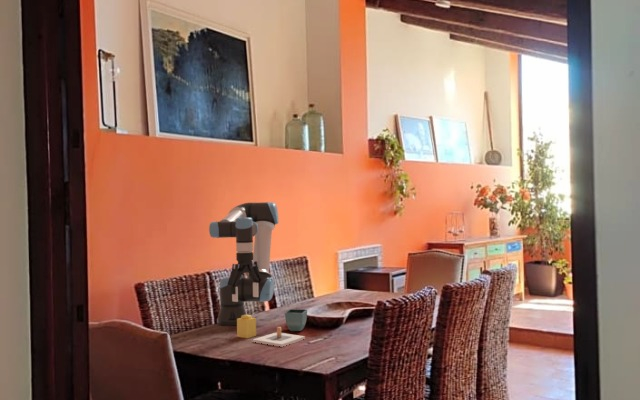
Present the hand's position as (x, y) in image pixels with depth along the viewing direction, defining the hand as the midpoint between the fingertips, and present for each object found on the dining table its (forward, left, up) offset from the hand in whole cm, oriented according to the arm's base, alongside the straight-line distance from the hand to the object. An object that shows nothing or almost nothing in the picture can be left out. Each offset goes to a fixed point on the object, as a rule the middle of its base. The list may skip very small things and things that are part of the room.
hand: (245, 299), depth 263 cm
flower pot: (-21, +12, -17) cm, 30 cm away
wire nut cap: (0, 0, -17) cm, 17 cm away
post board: (-1, +18, -17) cm, 25 cm away
